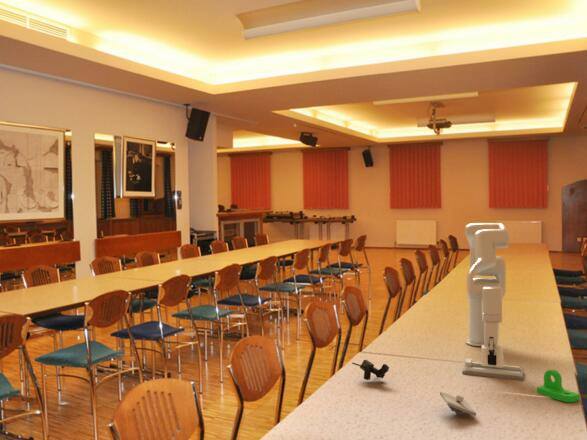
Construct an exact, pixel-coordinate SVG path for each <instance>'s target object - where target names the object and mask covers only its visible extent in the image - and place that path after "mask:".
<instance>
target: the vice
mask: <svg viewBox="0 0 587 440" xmlns="http://www.w3.org/2000/svg"><path fill="white" fill-rule="evenodd" d="M351 364H352V365H355V366H358V367H359V368H360V369H361V370H362V371H363V380H366V381H370V380H371V375H372V374H374V375H375V376H376V378H381V379H382V380H383V379H384V378H385V376H386V373H388V372H389V369H390V366H388V364H386V363H383V364H382V366H381V367H380V369H378V368H377V367H374V366H375V364H374V363H372V362H371V361H369V359H363V361H362V363H361V364H358V363H355V362H352V363H351Z"/></svg>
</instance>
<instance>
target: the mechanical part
mask: <svg viewBox="0 0 587 440" xmlns="http://www.w3.org/2000/svg"><path fill="white" fill-rule="evenodd" d="M552 377H553V379H554V381H553V379H552ZM562 378H563V377H562V376H561V373H560V372H558V370H556V369H549V370H546V371H545V372H544V374H543V385H540V386H538V387H536V392H537V394H540V395H544V396H546V397H548V398H551V399H554V400H558V401H560V402H564V403H575V402H577V401H580V400H581V394H580V393H578V392H574V391H571V390H567V389H564V388H563V386H562V385H563V384H562V383H563V379H562Z"/></svg>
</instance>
